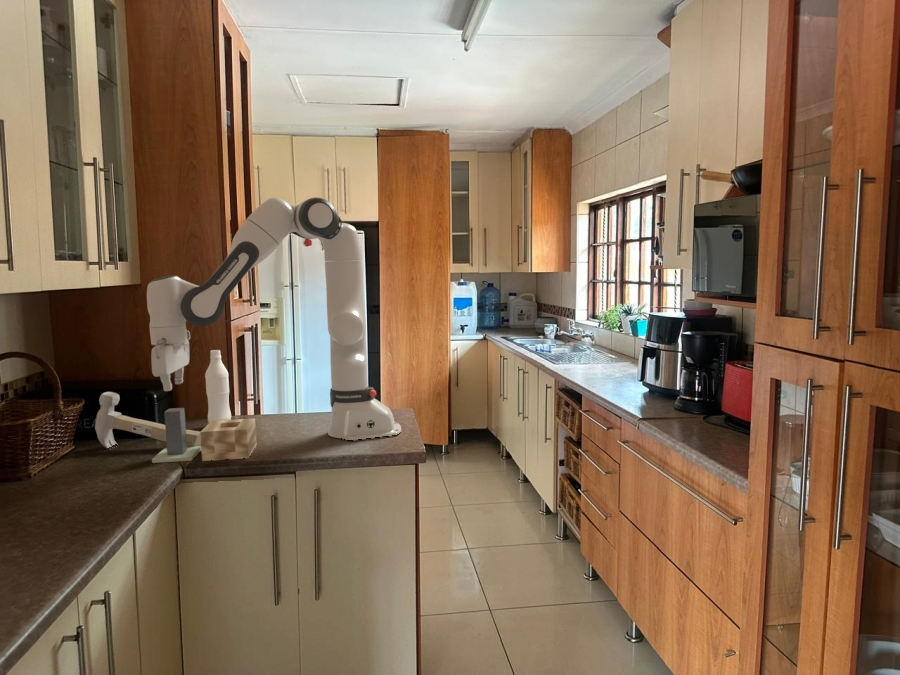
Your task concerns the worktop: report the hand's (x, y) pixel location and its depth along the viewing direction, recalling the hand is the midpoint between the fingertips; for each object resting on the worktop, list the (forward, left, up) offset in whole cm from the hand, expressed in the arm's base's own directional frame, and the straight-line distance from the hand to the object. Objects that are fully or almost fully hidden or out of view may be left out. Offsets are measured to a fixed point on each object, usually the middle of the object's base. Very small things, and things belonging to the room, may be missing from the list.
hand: (173, 387), depth 161 cm
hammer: (+11, -10, -20) cm, 24 cm away
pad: (0, 0, -19) cm, 19 cm away
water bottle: (-4, -31, -20) cm, 37 cm away
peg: (0, 0, -18) cm, 18 cm away
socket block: (-14, 0, -19) cm, 24 cm away
